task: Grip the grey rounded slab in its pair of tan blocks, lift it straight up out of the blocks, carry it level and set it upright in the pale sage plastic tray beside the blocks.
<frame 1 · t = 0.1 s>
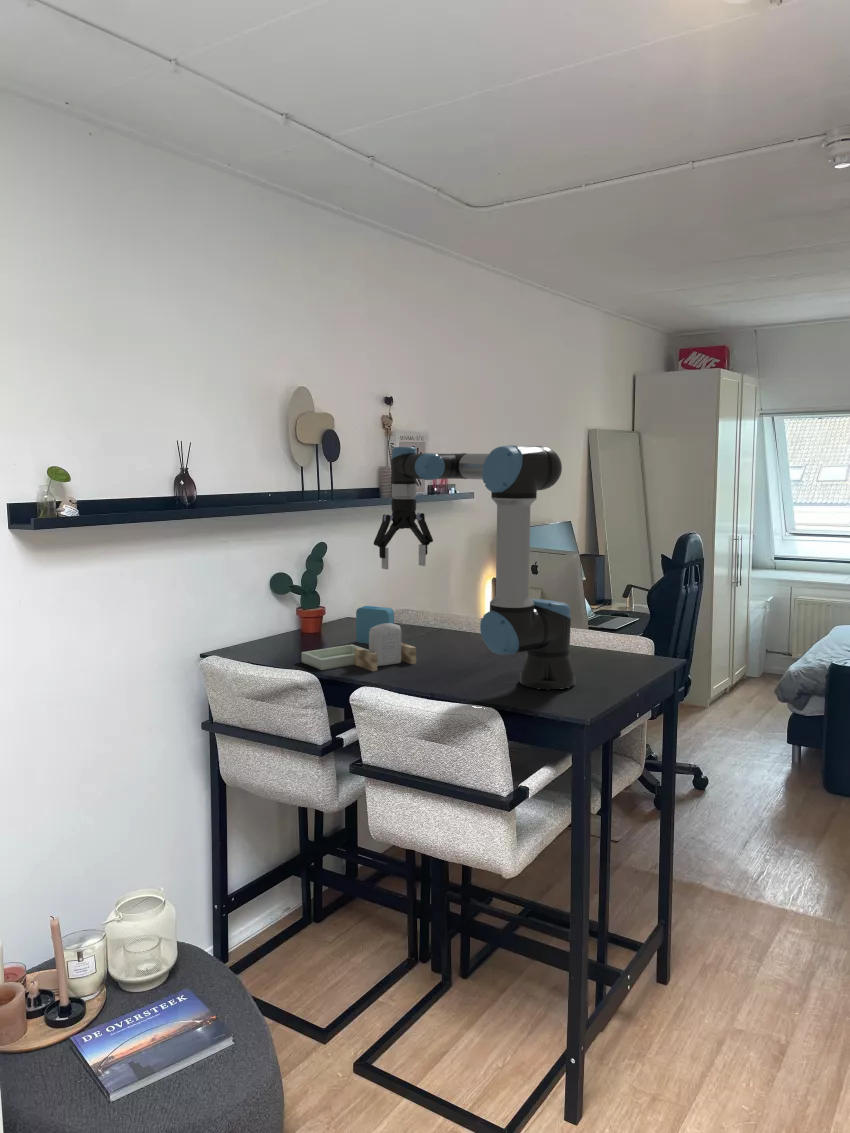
hand: (403, 567, 261), 28 cm above the table, tool pointing down, fingers open, 13 cm apart
pair of tan blocks: (385, 664, 255), on the table
grey rounded slab: (385, 664, 255), on the table
tray: (337, 661, 257), on the table
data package: (375, 644, 282), on the table
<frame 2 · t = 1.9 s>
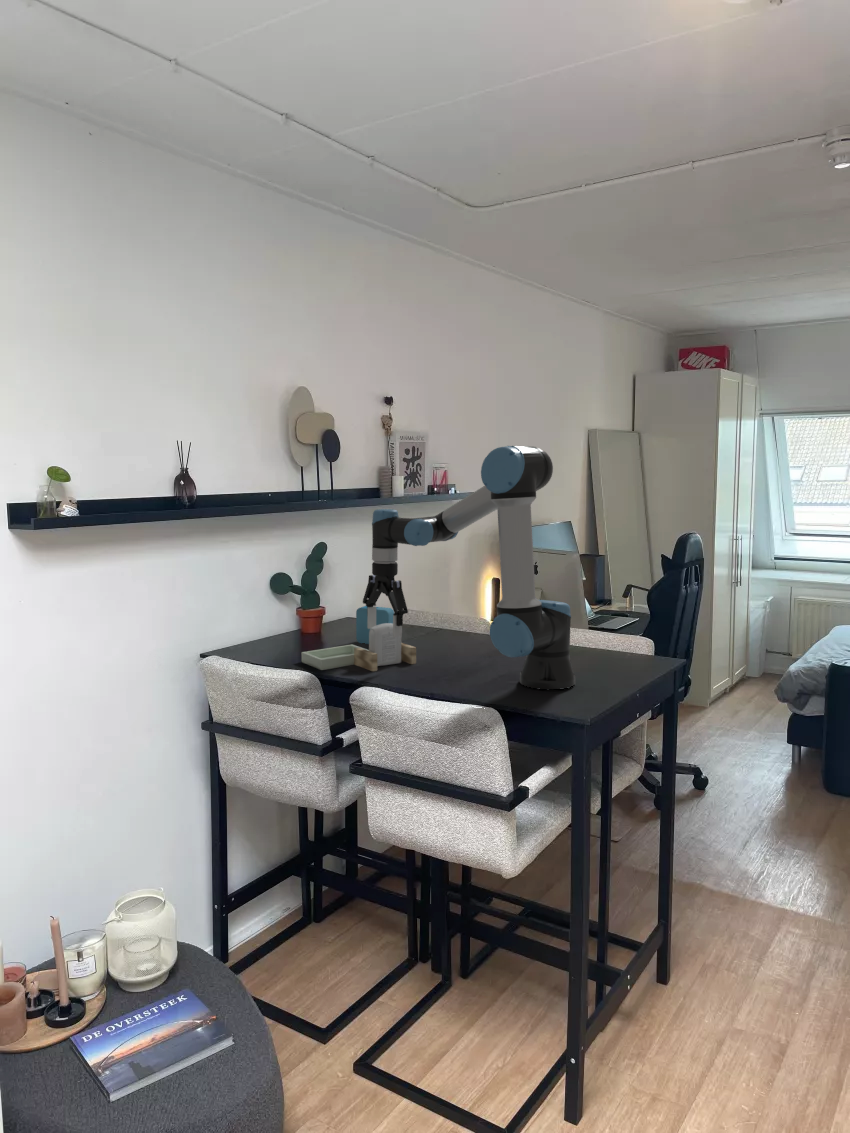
hand: (384, 632, 253), 10 cm above the table, tool pointing down, fingers open, 13 cm apart
nothing on the table moved.
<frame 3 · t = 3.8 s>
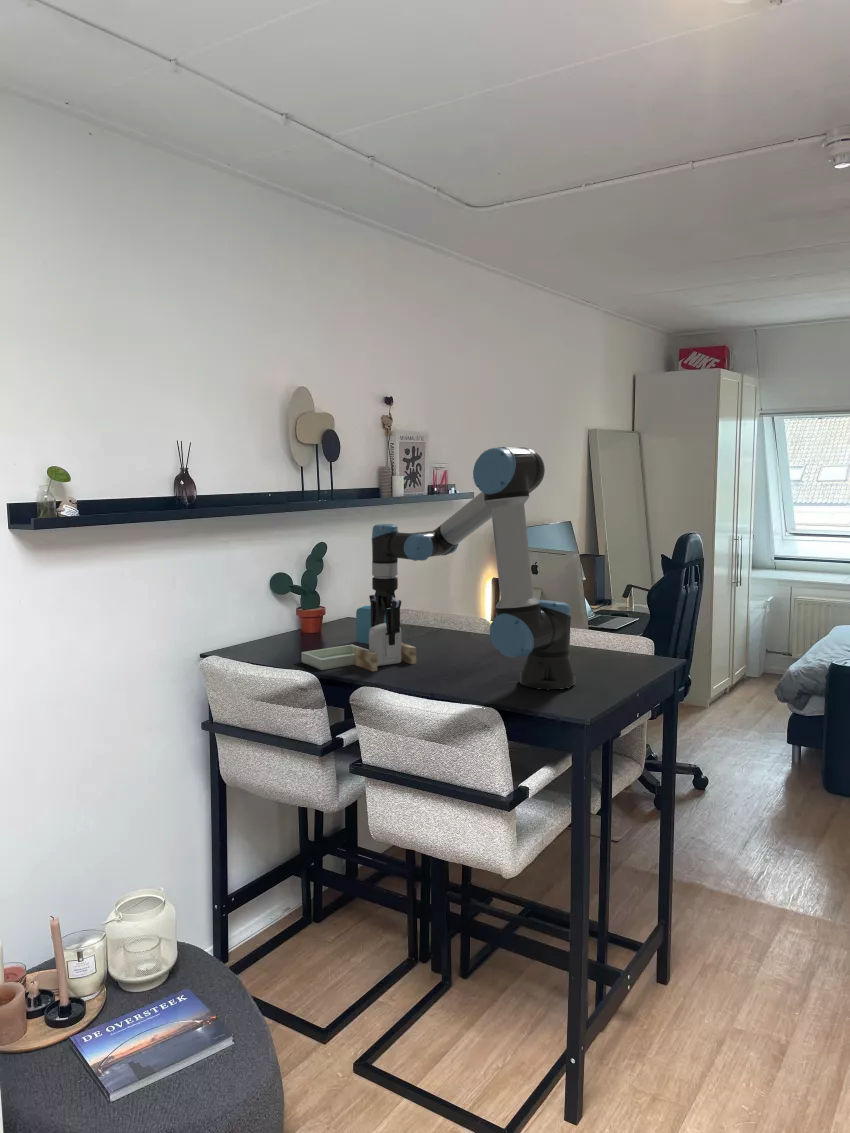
hand: (385, 653, 254), 3 cm above the table, tool pointing down, fingers closed on grey rounded slab, 4 cm apart
grey rounded slab: (385, 664, 255), on the table, touching gripper
everything else where it was.
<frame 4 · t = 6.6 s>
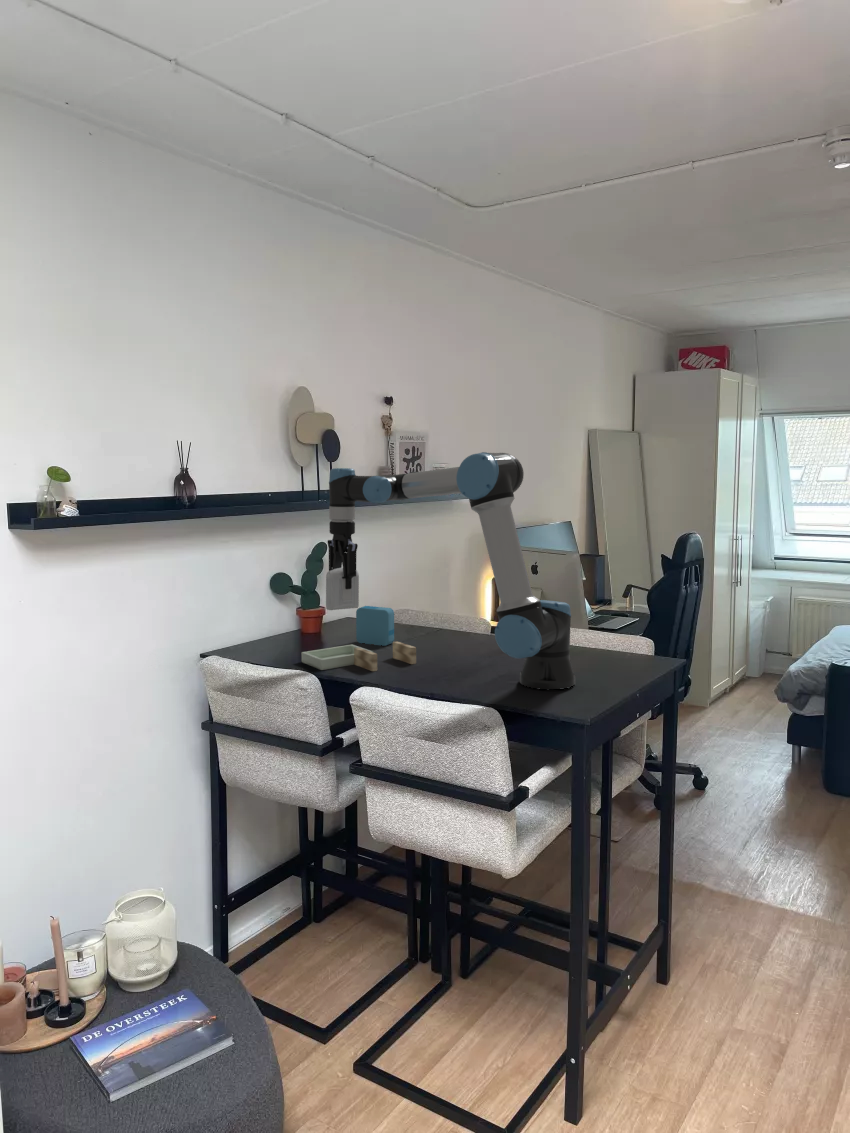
hand: (342, 598, 255), 20 cm above the table, tool pointing down, fingers closed on grey rounded slab, 4 cm apart
grey rounded slab: (342, 609, 255), point 16 cm above the table, touching gripper
everything else where it was.
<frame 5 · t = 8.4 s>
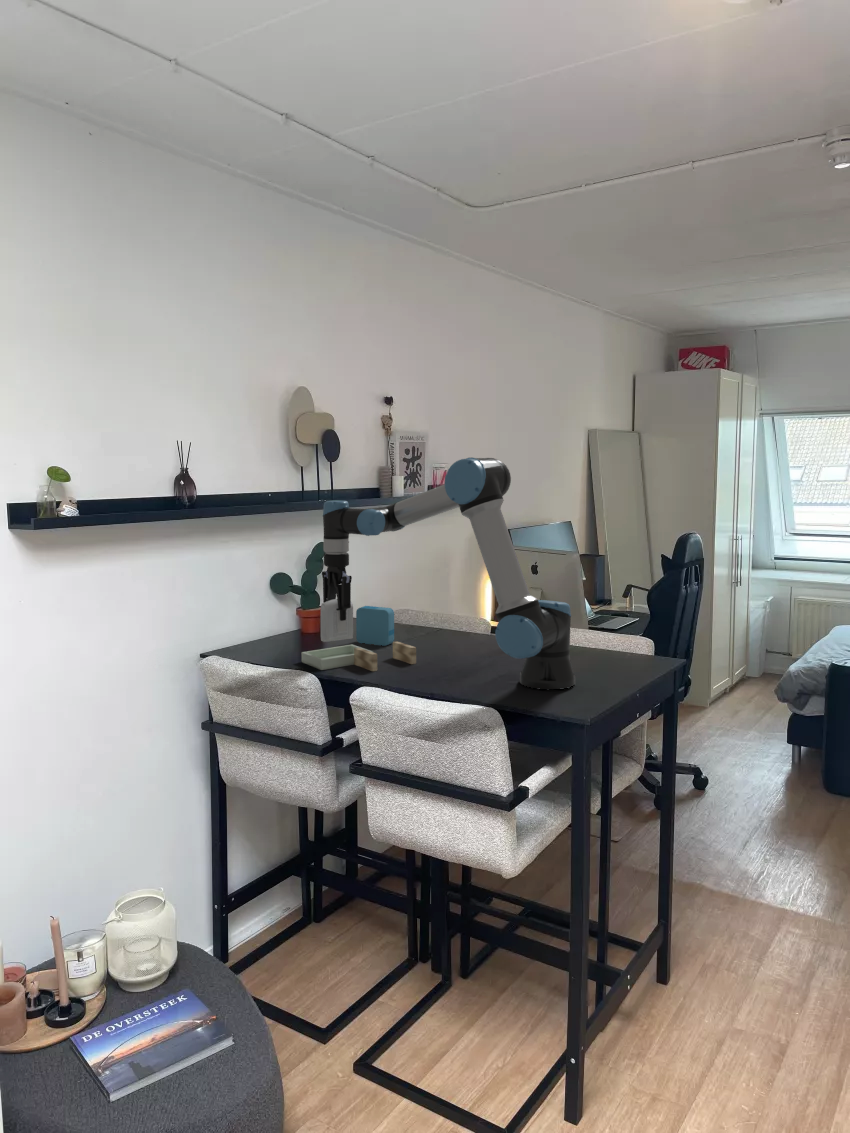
hand: (336, 629, 256), 10 cm above the table, tool pointing down, fingers closed on grey rounded slab, 4 cm apart
grey rounded slab: (337, 640, 256), point 7 cm above the table, touching gripper
everything else where it was.
when the fingers open (5 cm above the table, at t = 9.9 s): grey rounded slab drops 2 cm, resting on tray.
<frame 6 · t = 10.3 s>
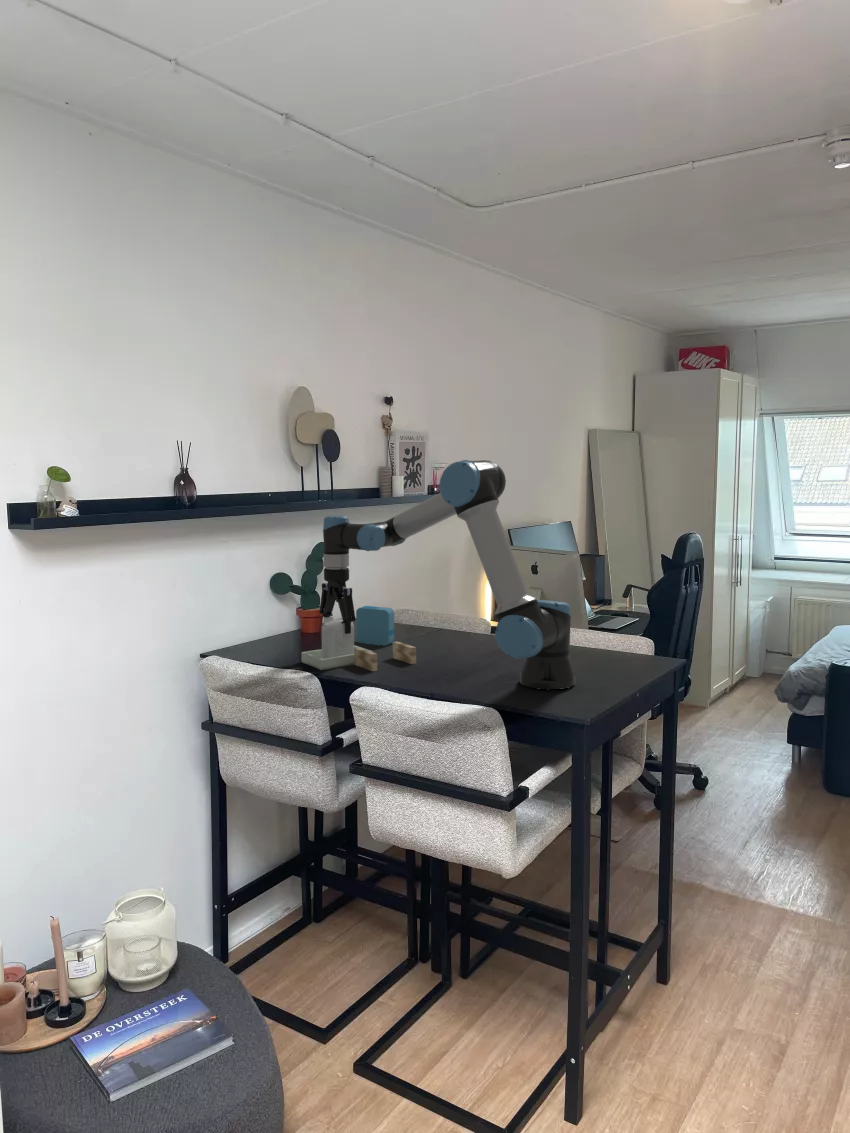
hand: (337, 640, 256), 6 cm above the table, tool pointing down, fingers open, 9 cm apart
grey rounded slab: (338, 660, 257), resting on tray
everything else where it was.
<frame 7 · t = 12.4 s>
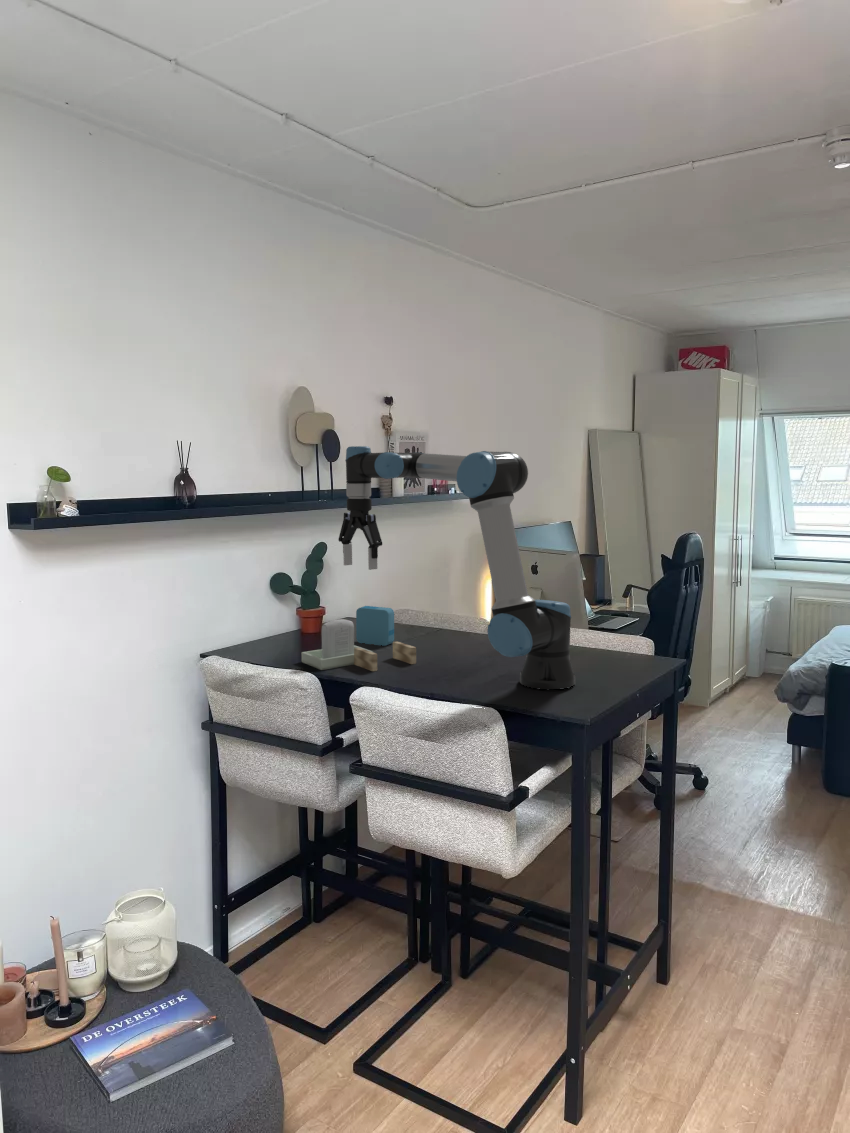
hand: (360, 567, 260), 28 cm above the table, tool pointing down, fingers open, 13 cm apart
nothing on the table moved.
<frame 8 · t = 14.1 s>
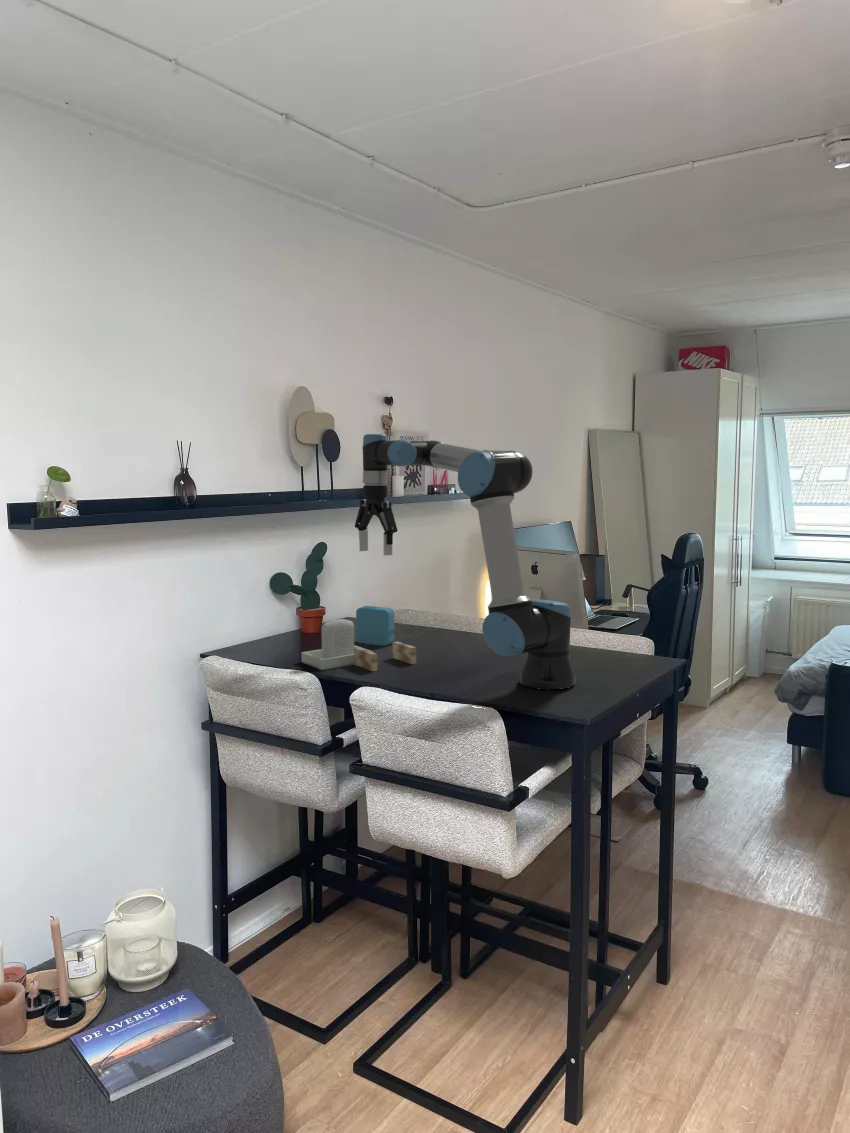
hand: (375, 553, 265), 32 cm above the table, tool pointing down, fingers open, 13 cm apart
nothing on the table moved.
at the end: grey rounded slab inside the target area on the tray (0.4 cm from its centre), point 0.4 cm above the tray's base; grey rounded slab tilted 0°; the gripper is holding nothing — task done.
